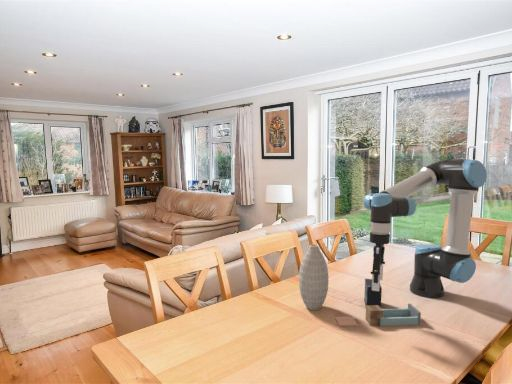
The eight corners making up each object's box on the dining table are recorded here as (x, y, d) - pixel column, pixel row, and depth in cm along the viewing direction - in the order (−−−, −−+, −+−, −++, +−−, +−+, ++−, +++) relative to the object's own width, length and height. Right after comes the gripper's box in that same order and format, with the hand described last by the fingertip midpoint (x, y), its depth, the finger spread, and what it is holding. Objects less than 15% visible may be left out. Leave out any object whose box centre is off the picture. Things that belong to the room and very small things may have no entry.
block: (377, 319, 145) (378, 305, 145) (382, 325, 140) (382, 310, 140) (365, 319, 145) (365, 305, 144) (369, 325, 140) (370, 310, 140)
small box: (381, 311, 152) (382, 287, 151) (366, 310, 154) (366, 286, 153) (378, 301, 163) (379, 279, 162) (363, 300, 164) (364, 278, 163)
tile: (351, 317, 147) (351, 316, 146) (357, 326, 140) (357, 324, 140) (335, 318, 146) (335, 316, 146) (340, 326, 139) (340, 325, 139)
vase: (331, 304, 160) (331, 243, 157) (324, 316, 148) (324, 250, 145) (303, 299, 165) (304, 240, 162) (295, 310, 154) (295, 247, 151)
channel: (409, 315, 148) (410, 303, 148) (420, 324, 140) (420, 312, 139) (372, 316, 148) (372, 304, 147) (380, 326, 139) (381, 314, 139)
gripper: (373, 226, 152) (371, 274, 154) (365, 237, 130) (363, 293, 132) (392, 228, 149) (389, 276, 151) (387, 240, 126) (384, 297, 129)
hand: (377, 284), depth 141 cm, fingers open, 13 cm apart
